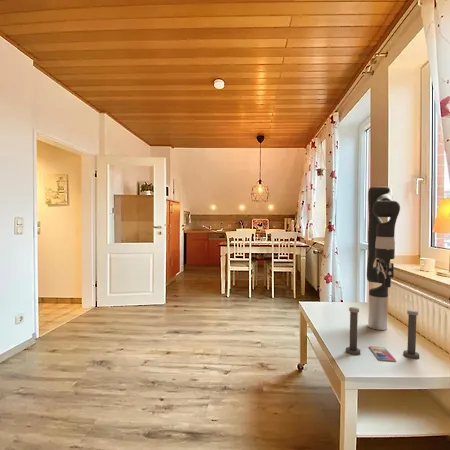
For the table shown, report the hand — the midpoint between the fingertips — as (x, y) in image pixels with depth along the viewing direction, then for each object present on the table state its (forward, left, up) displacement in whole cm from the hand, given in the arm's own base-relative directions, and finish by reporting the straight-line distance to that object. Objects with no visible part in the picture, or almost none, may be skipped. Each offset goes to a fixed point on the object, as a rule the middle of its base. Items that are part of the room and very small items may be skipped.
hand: (383, 285), depth 145 cm
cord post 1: (0, -12, -30) cm, 32 cm away
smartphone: (0, 0, -30) cm, 30 cm away
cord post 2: (0, +12, -30) cm, 32 cm away
